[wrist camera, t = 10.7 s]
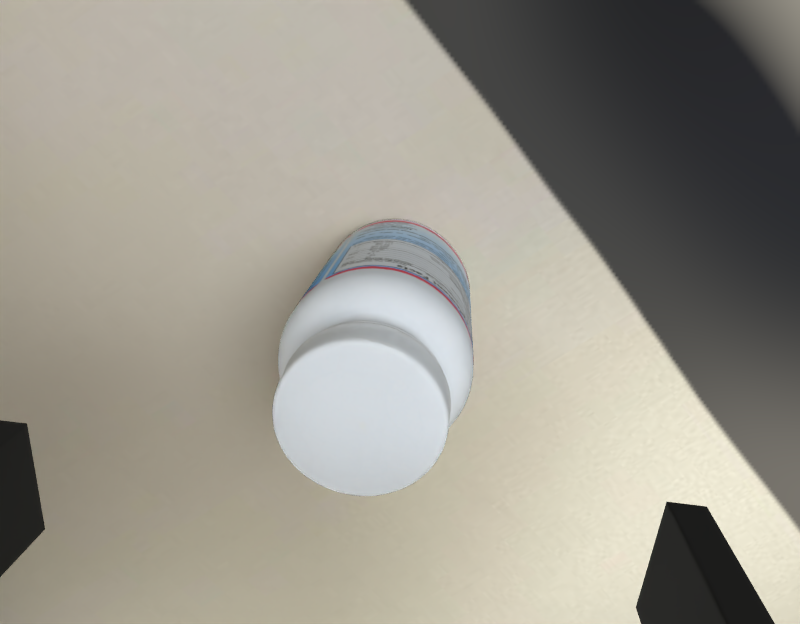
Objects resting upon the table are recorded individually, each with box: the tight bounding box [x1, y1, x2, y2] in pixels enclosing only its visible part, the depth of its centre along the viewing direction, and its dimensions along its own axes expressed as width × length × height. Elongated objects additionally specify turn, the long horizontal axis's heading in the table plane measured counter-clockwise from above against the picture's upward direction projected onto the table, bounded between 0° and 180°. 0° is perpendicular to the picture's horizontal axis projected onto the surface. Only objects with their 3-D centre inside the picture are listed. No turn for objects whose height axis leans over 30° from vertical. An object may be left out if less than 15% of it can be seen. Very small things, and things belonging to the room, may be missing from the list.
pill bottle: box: [272, 219, 474, 496], centre depth 21 cm, size 6×6×11 cm
